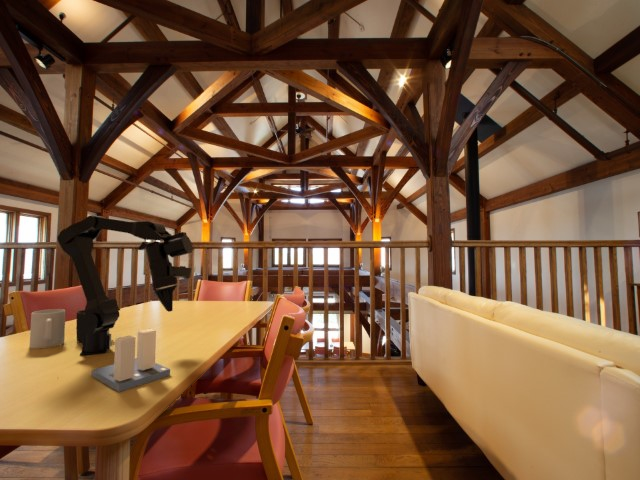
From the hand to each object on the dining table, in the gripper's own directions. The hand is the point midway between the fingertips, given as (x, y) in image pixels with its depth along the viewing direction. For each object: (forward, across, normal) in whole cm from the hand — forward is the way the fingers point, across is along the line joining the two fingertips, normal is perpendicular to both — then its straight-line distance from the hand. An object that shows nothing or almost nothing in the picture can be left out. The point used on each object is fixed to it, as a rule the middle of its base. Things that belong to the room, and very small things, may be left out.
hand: (169, 310), depth 92 cm
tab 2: (+12, -14, +8) cm, 20 cm away
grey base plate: (+13, -12, +12) cm, 21 cm away
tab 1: (+11, -18, +13) cm, 25 cm away
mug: (+2, +28, +35) cm, 45 cm away
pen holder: (+4, +30, +24) cm, 39 cm away
